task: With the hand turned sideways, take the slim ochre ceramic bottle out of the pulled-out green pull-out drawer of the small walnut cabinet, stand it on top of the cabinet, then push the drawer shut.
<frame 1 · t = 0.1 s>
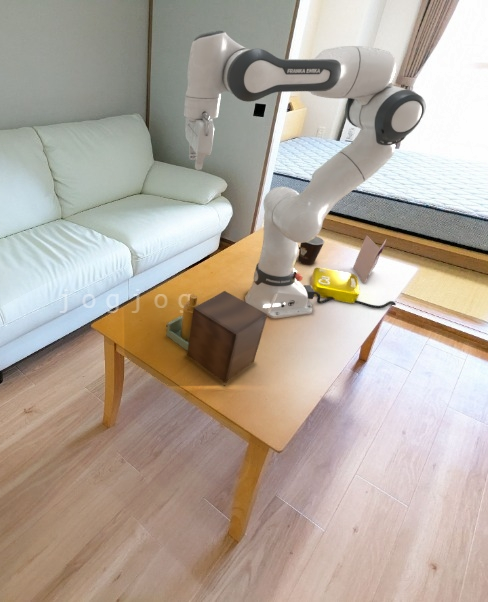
hand: (195, 164, 103), 48 cm above the table, tool pointing down, fingers open, 8 cm apart
green pull-out drawer: (191, 332, 113), point 3 cm above the table, slide at 9.0 cm, touching bottle
element tile: (332, 289, 139), on the table
bottle: (188, 335, 115), point 1 cm above the table, touching green pull-out drawer
cabinet: (219, 360, 108), on the table
coffee mug: (304, 259, 158), on the table
greeting card: (359, 275, 148), on the table
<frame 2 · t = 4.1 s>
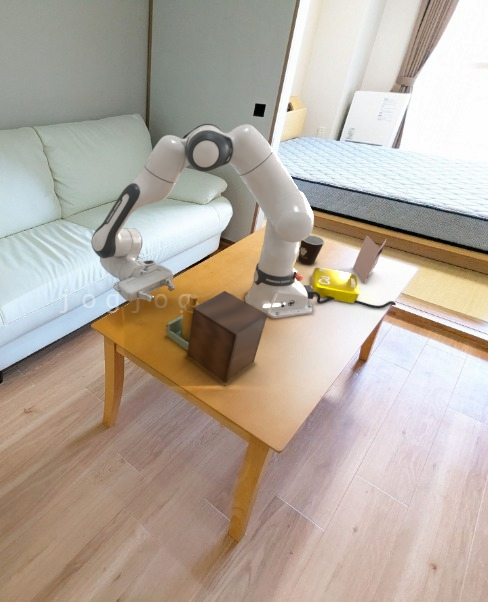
hand: (162, 293, 117), 11 cm above the table, tool horizontal, fingers open, 8 cm apart
nothing on the table moved.
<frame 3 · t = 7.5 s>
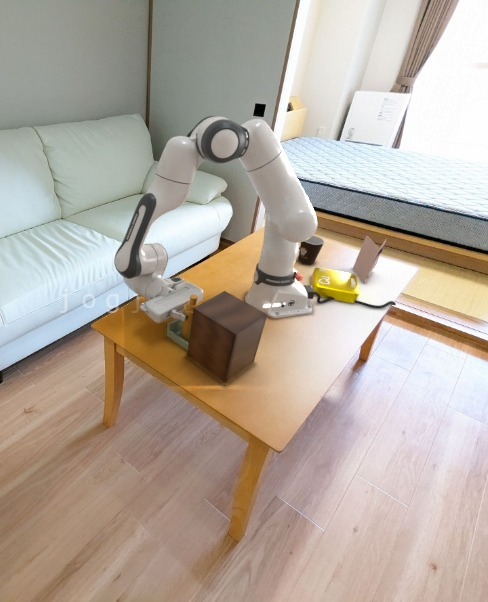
hand: (193, 314, 110), 10 cm above the table, tool horizontal, fingers closed on bottle, 5 cm apart
bottle: (188, 335, 115), point 1 cm above the table, touching gripper, green pull-out drawer
everything else where it was.
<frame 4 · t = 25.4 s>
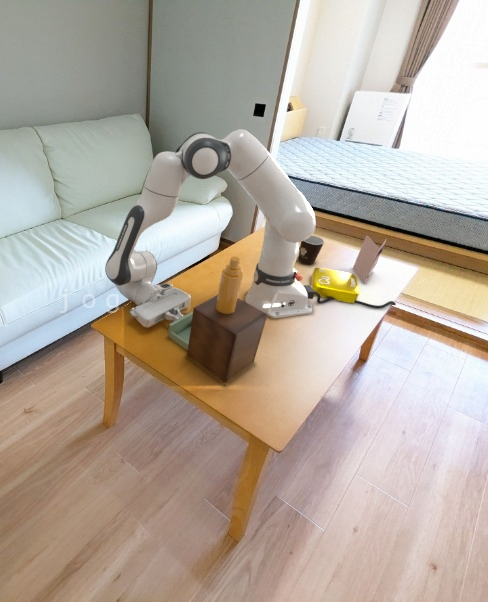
hand: (180, 319, 115), 5 cm above the table, tool horizontal, fingers closed, pressing on green pull-out drawer
green pull-out drawer: (193, 333, 113), point 3 cm above the table, slide at 8.3 cm, touching gripper
bottle: (225, 308, 98), point 18 cm above the table, touching cabinet
everything else where it was.
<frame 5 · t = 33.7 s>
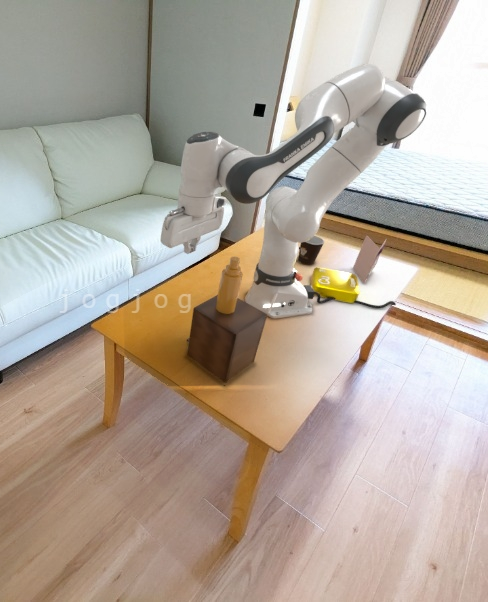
hand: (189, 251, 101), 29 cm above the table, tool pointing down, fingers closed
green pull-out drawer: (214, 347, 108), point 3 cm above the table, slide at 0.2 cm
everything else where it was.
at the end: bottle inside the target area on the cabinet (1.6 cm from its centre), point 18.3 cm above the cabinet's base; bottle tilted 0°; green pull-out drawer slide at 0.2 cm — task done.
